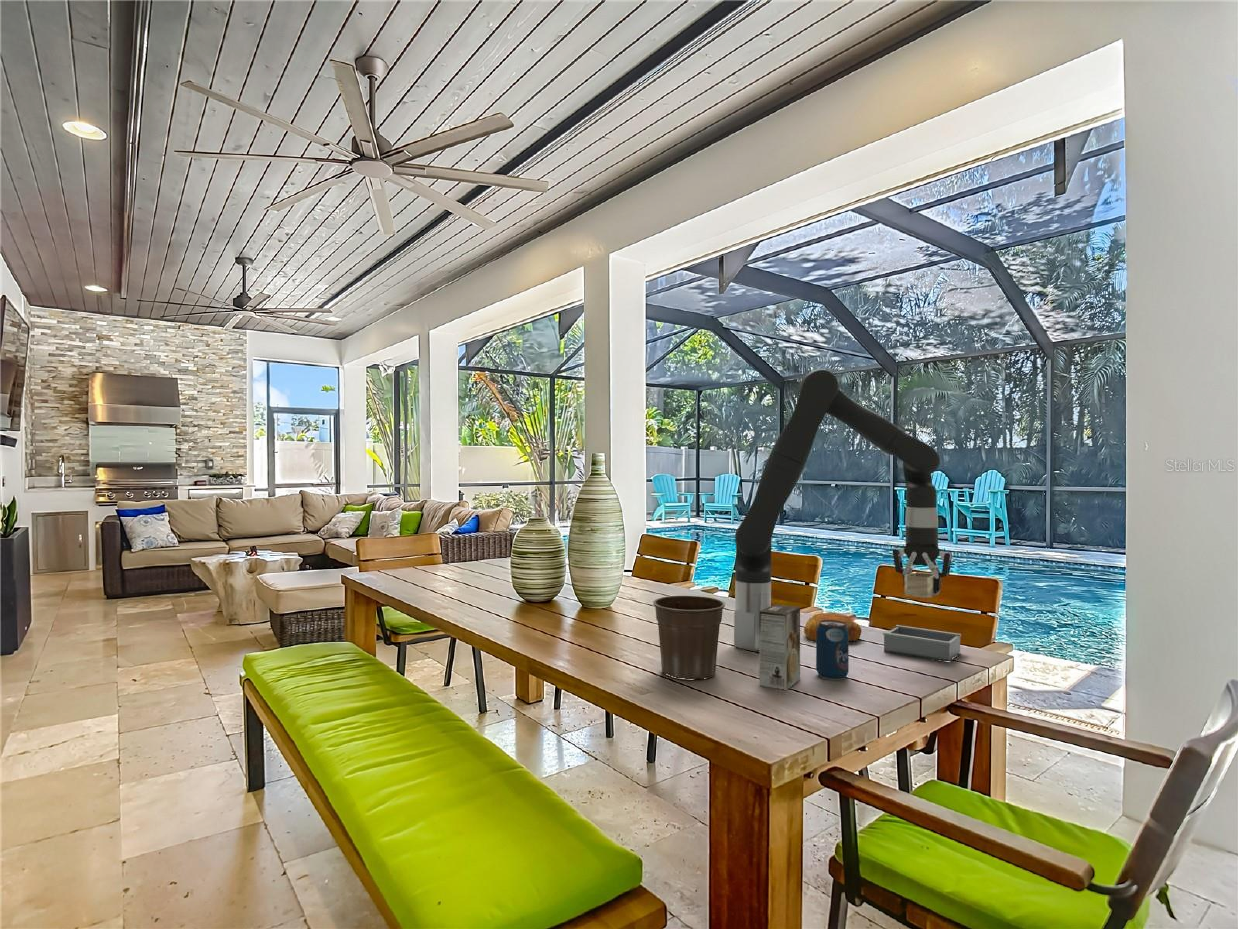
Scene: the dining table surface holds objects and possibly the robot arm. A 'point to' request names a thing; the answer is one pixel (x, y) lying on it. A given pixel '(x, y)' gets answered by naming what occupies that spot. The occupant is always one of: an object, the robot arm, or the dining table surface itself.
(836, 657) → the soda can
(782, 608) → the coffee box
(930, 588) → the small crate
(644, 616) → the dining table surface
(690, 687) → the dining table surface
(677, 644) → the plant pot
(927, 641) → the box
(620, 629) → the dining table surface
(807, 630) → the croissant
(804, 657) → the dining table surface
